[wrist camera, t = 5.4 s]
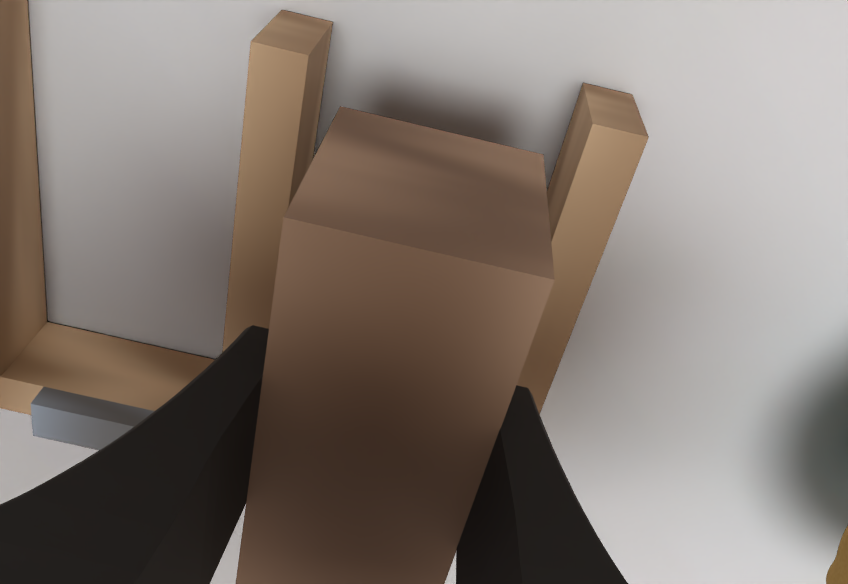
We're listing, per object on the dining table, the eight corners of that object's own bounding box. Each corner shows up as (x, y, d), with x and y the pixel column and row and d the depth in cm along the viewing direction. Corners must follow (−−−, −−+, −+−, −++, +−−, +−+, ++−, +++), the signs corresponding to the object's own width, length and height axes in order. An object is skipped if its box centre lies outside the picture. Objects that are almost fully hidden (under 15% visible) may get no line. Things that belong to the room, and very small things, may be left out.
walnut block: (285, 445, 18) (233, 601, 14) (340, 106, 13) (283, 216, 10) (439, 479, 18) (423, 641, 14) (543, 154, 13) (554, 280, 10)
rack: (10, 343, 21) (-54, 416, 18) (-28, -66, 15) (-127, -37, 13) (499, 453, 21) (498, 537, 19) (632, 94, 16) (653, 150, 13)
